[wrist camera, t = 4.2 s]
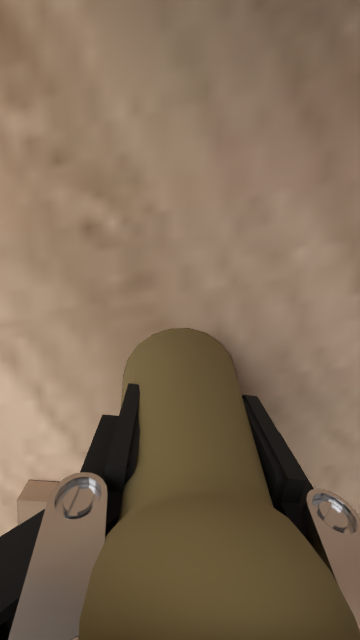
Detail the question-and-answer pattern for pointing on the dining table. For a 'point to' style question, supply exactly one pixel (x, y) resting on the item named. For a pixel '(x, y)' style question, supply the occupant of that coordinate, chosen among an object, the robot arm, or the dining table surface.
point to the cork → (203, 519)
